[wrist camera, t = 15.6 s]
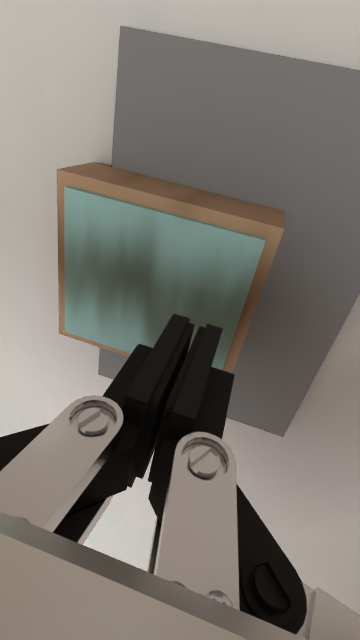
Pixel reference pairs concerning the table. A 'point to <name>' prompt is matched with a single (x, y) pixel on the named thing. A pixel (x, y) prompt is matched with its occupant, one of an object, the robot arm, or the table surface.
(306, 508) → the table surface
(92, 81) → the table surface
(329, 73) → the mat
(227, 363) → the wooden block teal panel
